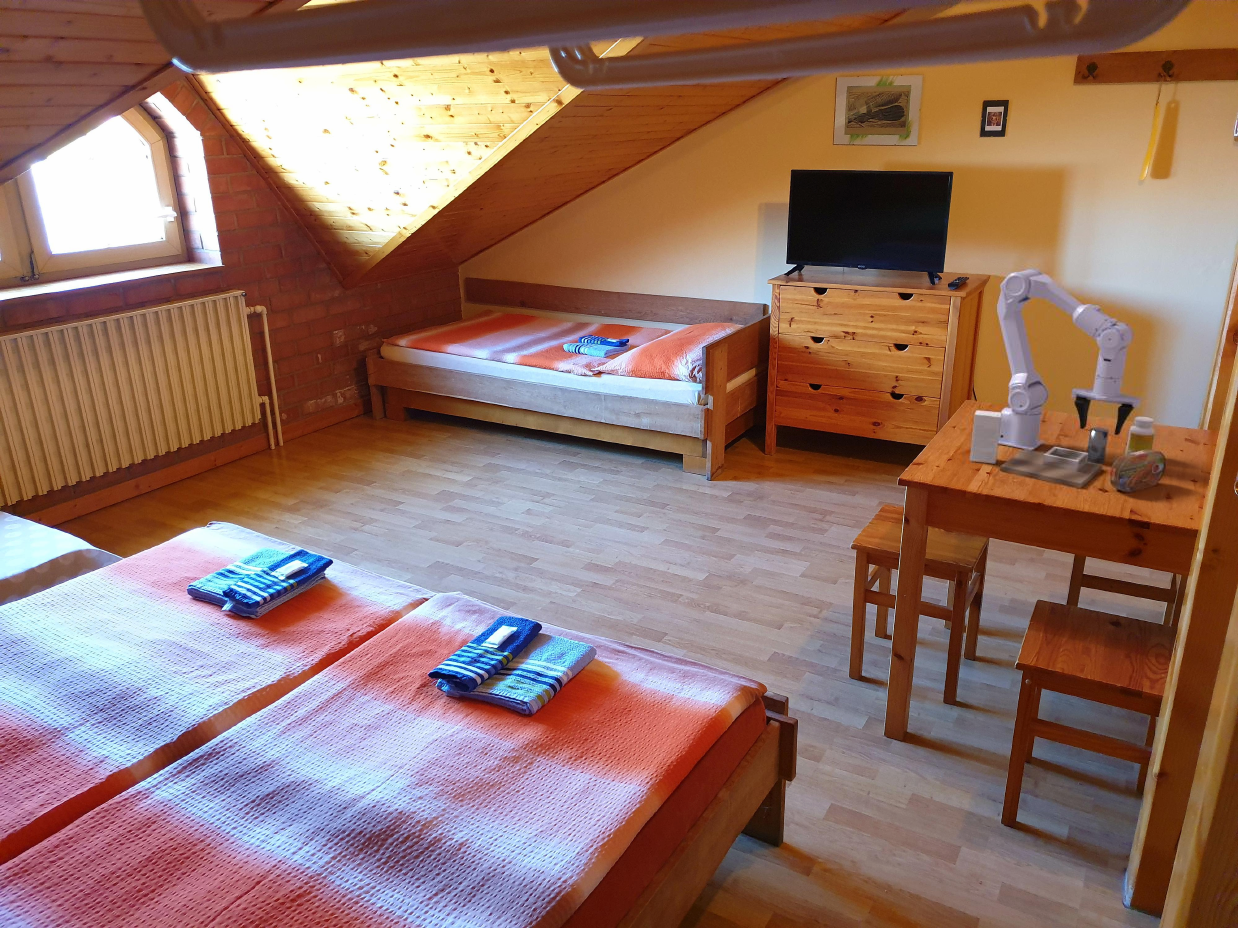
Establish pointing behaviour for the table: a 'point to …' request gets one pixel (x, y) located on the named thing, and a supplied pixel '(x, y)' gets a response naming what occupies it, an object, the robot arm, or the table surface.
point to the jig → (1053, 466)
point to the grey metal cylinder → (1097, 445)
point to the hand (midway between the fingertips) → (1099, 430)
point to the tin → (1137, 470)
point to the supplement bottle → (1140, 435)
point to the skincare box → (985, 436)
